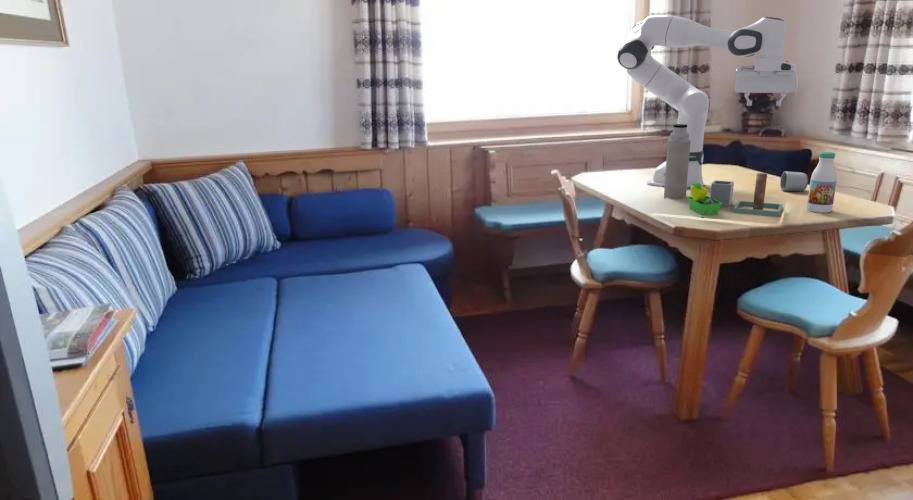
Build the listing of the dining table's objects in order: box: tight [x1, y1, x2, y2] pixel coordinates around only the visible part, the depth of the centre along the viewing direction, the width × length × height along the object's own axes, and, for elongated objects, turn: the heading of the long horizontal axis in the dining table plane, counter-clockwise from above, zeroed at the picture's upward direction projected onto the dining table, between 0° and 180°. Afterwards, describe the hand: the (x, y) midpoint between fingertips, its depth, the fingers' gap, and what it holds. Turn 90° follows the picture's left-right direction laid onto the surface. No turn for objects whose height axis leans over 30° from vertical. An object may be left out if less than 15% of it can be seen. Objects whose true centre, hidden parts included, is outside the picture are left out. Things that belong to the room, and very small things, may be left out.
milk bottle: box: [806, 151, 838, 214], centre depth 214 cm, size 8×8×20 cm
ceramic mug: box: [779, 170, 809, 192], centre depth 247 cm, size 11×8×8 cm
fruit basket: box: [687, 183, 722, 219], centre depth 215 cm, size 11×9×11 cm
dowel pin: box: [752, 172, 768, 210], centre depth 214 cm, size 3×3×13 cm
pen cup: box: [709, 179, 735, 208], centre depth 223 cm, size 6×6×9 cm
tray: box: [732, 200, 784, 217], centre depth 215 cm, size 14×12×2 cm
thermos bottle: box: [663, 123, 691, 200], centre depth 235 cm, size 8×8×28 cm
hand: (763, 105), depth 226 cm, fingers open, 8 cm apart
